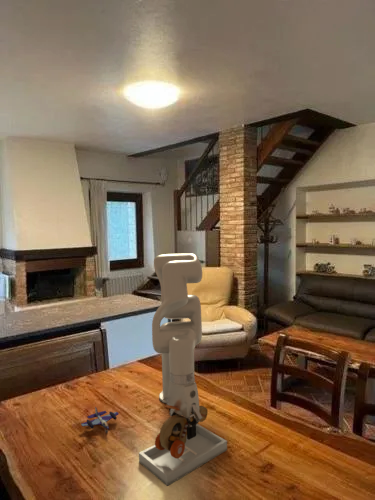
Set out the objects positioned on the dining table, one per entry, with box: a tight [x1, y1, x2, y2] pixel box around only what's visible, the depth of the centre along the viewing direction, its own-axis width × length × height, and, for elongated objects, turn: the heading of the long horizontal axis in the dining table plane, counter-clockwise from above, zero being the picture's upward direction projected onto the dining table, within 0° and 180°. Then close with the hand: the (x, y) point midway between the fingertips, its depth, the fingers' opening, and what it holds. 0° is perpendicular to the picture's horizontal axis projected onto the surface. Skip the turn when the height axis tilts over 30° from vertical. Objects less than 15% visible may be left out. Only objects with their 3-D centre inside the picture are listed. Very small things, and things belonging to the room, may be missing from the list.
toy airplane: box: [81, 406, 119, 434], centre depth 134 cm, size 13×14×4 cm
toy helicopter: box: [154, 404, 209, 458], centre depth 117 cm, size 8×21×14 cm, turn 139°
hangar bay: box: [138, 423, 228, 487], centre depth 117 cm, size 24×14×3 cm, turn 131°
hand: (183, 431), depth 116 cm, fingers closed on toy helicopter, 7 cm apart
